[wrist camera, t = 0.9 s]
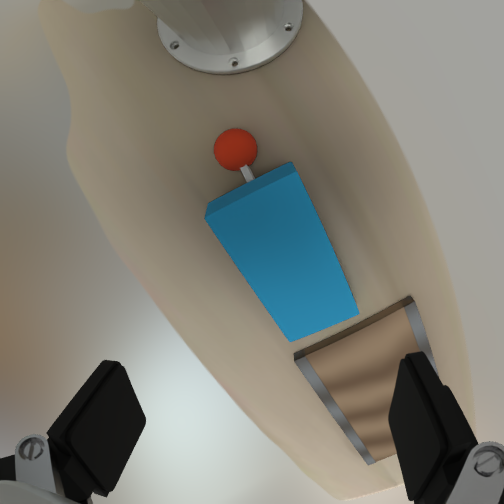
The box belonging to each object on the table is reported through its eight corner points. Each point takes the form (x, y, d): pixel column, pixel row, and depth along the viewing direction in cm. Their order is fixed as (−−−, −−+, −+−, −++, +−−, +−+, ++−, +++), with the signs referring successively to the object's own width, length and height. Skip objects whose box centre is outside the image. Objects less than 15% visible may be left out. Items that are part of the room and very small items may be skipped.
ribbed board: (293, 353, 30) (294, 361, 29) (410, 295, 27) (414, 301, 26) (366, 458, 36) (368, 465, 34) (448, 421, 32) (450, 427, 31)
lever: (340, 268, 32) (263, 108, 23) (359, 313, 26) (270, 120, 18) (282, 294, 34) (190, 147, 25) (289, 342, 28) (174, 173, 19)
